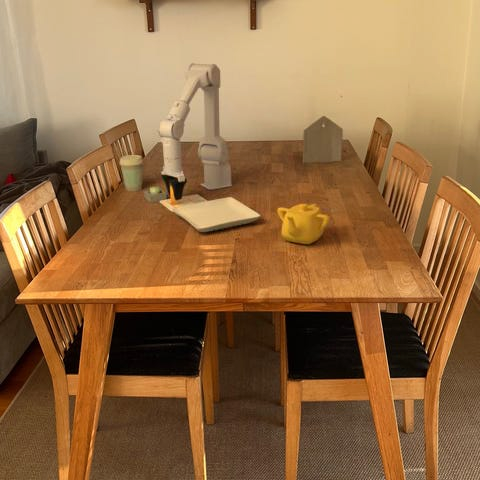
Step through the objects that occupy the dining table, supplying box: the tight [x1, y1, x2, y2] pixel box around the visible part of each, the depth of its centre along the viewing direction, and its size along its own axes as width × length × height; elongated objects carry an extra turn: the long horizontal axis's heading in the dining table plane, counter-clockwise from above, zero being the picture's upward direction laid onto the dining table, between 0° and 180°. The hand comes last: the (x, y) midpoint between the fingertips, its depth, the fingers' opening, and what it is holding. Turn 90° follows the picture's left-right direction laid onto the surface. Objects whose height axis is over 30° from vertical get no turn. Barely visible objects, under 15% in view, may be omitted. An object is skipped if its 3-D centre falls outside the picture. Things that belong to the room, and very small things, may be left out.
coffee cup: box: [119, 154, 144, 193], centre depth 209 cm, size 8×8×12 cm
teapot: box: [277, 203, 331, 245], centre depth 161 cm, size 14×13×10 cm
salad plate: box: [173, 196, 261, 233], centre depth 178 cm, size 21×21×3 cm
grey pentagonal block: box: [302, 115, 344, 164], centre depth 241 cm, size 16×8×19 cm, turn 94°
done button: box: [149, 186, 161, 195], centre depth 199 cm, size 3×3×3 cm
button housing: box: [143, 188, 168, 203], centre depth 199 cm, size 6×6×2 cm
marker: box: [170, 184, 180, 205], centre depth 192 cm, size 3×3×7 cm
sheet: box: [159, 193, 208, 213], centre depth 194 cm, size 14×12×1 cm
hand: (175, 197), depth 192 cm, fingers open, 5 cm apart
